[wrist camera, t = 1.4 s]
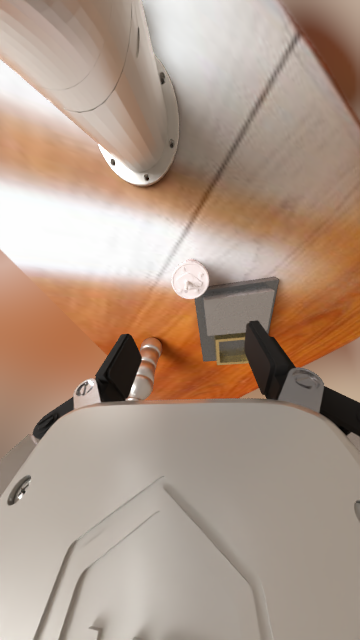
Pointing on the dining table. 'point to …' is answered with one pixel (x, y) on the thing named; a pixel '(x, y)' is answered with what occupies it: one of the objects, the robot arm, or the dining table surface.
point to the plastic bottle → (146, 370)
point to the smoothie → (190, 279)
